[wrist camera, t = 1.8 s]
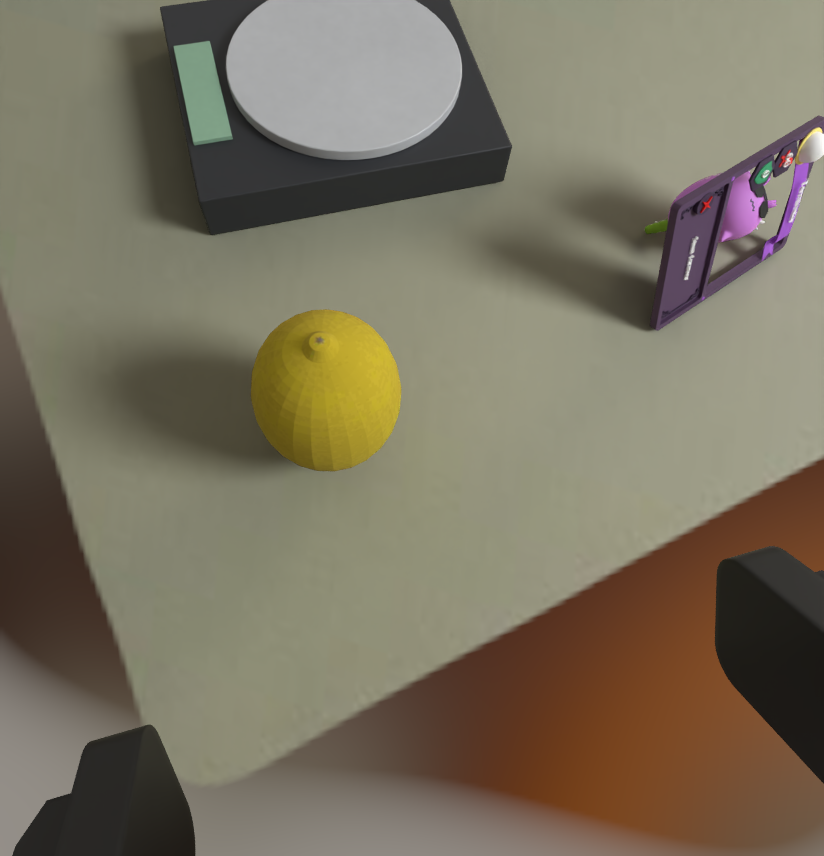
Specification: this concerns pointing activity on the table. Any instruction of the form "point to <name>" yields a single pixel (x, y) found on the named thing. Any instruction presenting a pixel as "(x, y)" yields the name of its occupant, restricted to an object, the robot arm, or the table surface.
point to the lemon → (325, 390)
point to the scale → (328, 106)
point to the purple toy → (727, 220)
